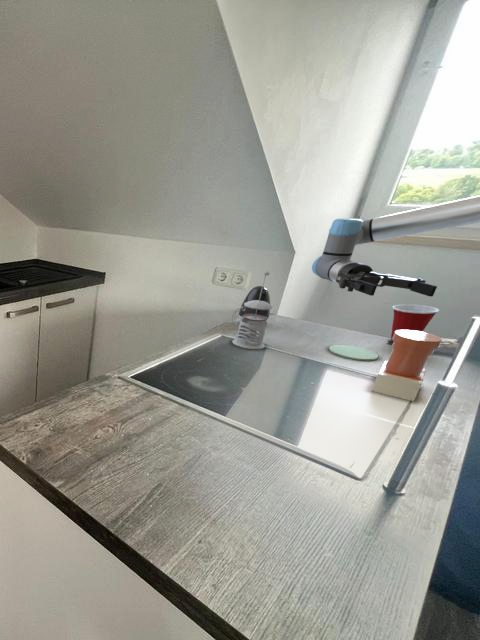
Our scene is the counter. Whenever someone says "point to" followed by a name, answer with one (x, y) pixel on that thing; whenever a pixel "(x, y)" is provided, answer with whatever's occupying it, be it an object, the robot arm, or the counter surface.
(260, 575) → the counter surface
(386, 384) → the box with red stripes
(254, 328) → the french press
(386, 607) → the counter surface
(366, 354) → the mat
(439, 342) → the terracotta pot
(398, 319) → the plastic cup
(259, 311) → the black rounded piece
